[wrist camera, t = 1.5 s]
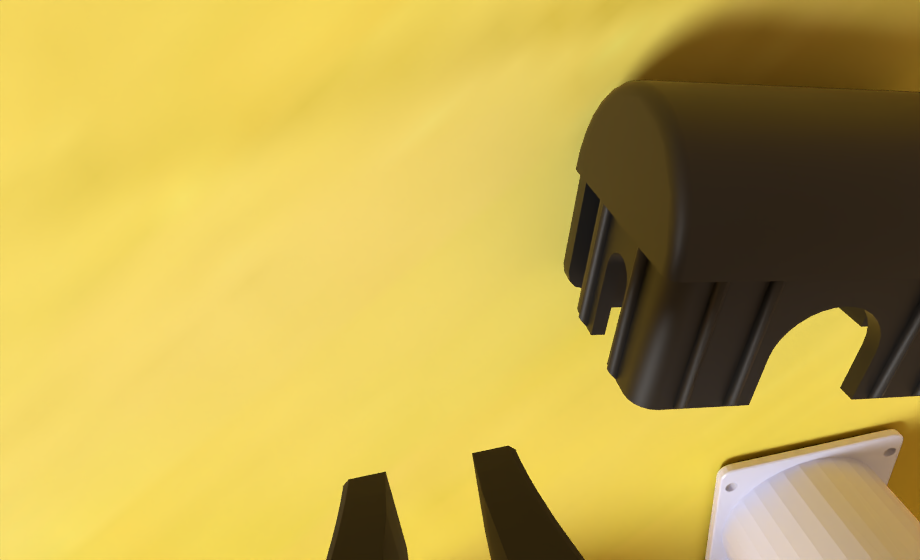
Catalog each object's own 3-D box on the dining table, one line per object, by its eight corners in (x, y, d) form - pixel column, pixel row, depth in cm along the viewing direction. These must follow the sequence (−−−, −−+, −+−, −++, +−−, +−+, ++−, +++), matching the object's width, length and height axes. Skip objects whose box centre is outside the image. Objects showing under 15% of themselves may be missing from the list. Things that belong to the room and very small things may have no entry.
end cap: (915, 63, 19) (1169, 144, 13) (823, 273, 22) (989, 409, 17) (585, 45, 17) (711, 132, 11) (545, 278, 20) (624, 431, 15)
